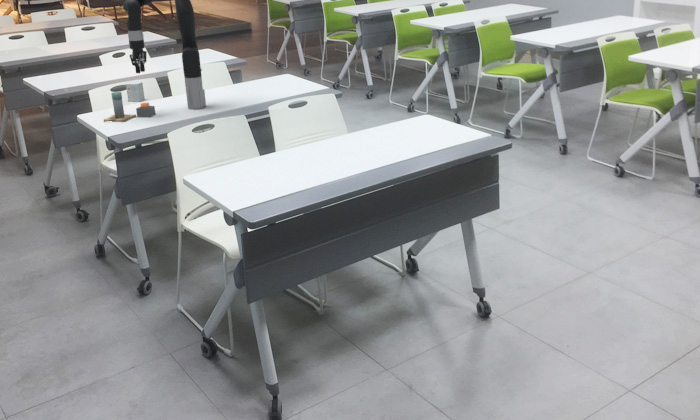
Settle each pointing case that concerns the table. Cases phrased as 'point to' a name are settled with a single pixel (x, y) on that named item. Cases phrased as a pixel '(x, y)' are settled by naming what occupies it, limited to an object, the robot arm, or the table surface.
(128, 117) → the kraft pad
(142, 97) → the small box
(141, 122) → the table surface
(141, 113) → the button housing
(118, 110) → the marker
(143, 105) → the button
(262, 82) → the table surface
